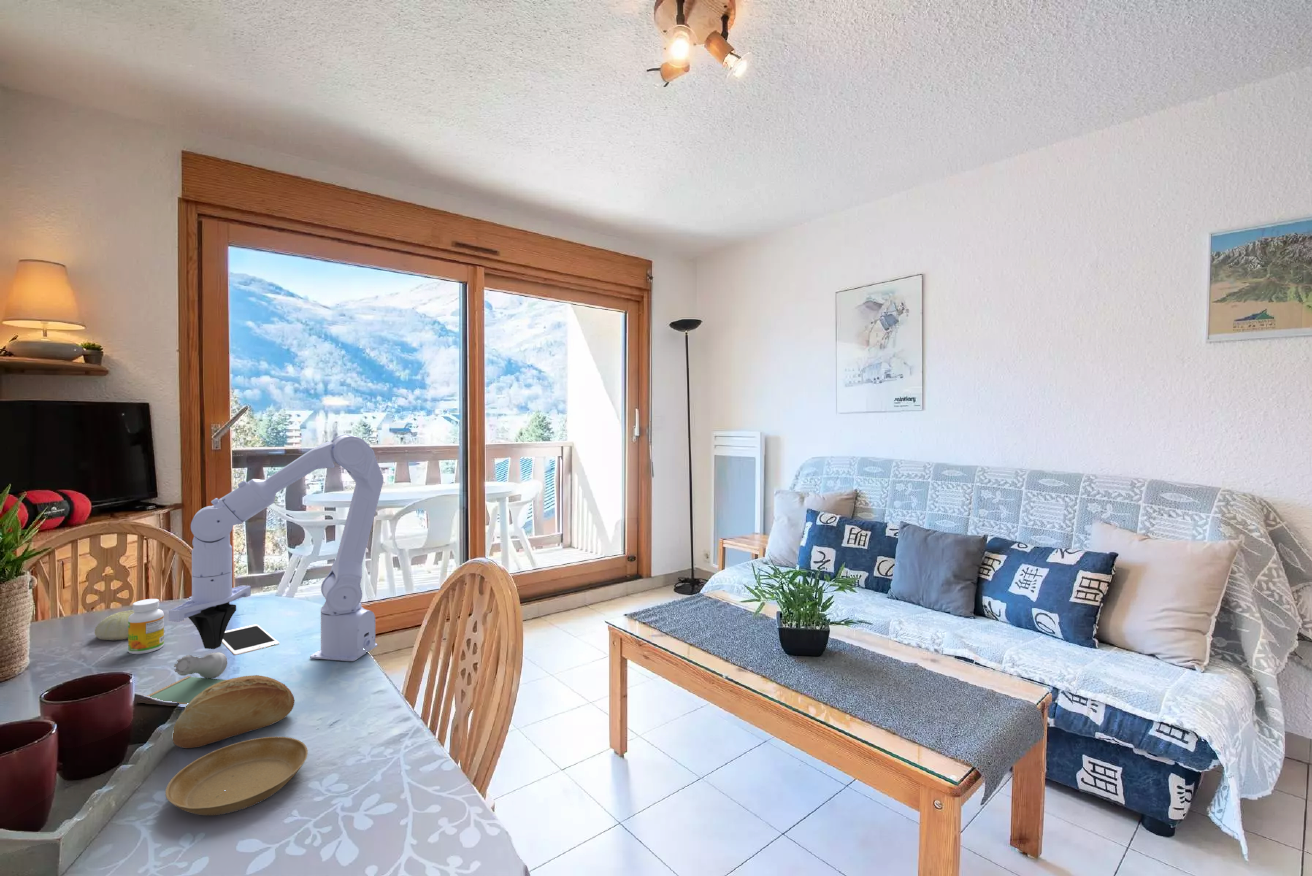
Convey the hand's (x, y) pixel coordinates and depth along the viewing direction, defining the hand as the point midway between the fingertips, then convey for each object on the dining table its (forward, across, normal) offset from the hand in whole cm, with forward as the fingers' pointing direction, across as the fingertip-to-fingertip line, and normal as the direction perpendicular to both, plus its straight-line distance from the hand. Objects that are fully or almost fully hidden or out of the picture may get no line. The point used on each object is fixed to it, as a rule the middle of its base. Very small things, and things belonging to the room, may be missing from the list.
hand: (212, 647), depth 102 cm
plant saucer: (+6, +26, +30) cm, 40 cm away
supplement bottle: (+6, -9, -24) cm, 26 cm away
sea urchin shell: (+6, -15, -36) cm, 39 cm away
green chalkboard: (+6, +6, +2) cm, 8 cm away
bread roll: (+6, +15, +19) cm, 25 cm away
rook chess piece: (+4, -1, 0) cm, 4 cm away
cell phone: (+6, -17, -9) cm, 20 cm away
